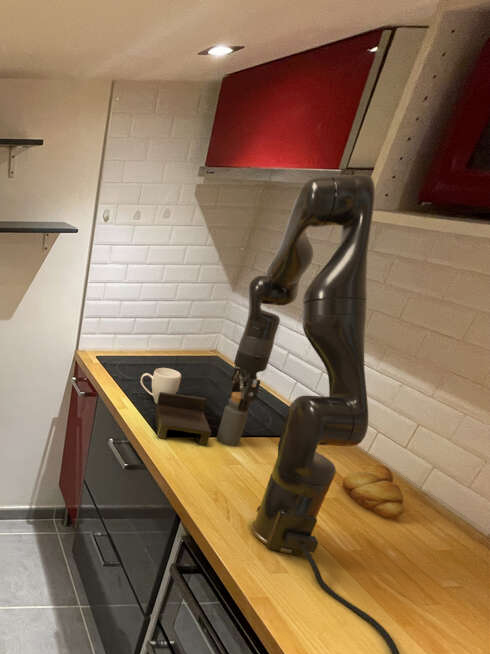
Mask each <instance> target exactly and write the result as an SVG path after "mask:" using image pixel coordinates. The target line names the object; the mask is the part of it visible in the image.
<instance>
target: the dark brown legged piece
mask: <svg viewBox="0 0 490 654" xmlns="http://www.w3.org/2000/svg"><path fill="white" fill-rule="evenodd" d="M206 401H207V399H206V397H200V396H194V395H193V396H192V395H186V394H185V395H183V394H177V393H176V394H171V393H163V392H160V393H159V397H158V402H157V404H156V409H155V415H154V419H153V421H154V425H155V430H156V434H157V439H163V440H166V438H167V433H168V430H172V431H179V432H185V433H192V434H195V437H196V440H197V443H198V445H199V446H205V447H207V446H208V442H209V438H210V436H212V430H211V428H210V424H209V423H208V420H207V418H206V416H205V413H204V409H205V405H206Z"/></svg>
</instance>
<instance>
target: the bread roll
mask: <svg viewBox="0 0 490 654" xmlns="http://www.w3.org/2000/svg"><path fill="white" fill-rule="evenodd" d="M394 481H395V480H394V475H393V473H392V471H391V470H390V468H389V467H387V466H385V465H382V464H373V465H371V466H368V467H367V468H366V469H365V470H364V471H355V472H349V473H348V474H346V476H345V477H344V478H343V479H342V488H343V489H344V491H345V492H346V493H347V494H349V495H350V496H351V497H352V499H353V500H354V501H355V502H356V503H357V504H358V505H361V506H363V507H365V508H367V509H370V510H371V511H373V512H374V513H376V514H378V515H381V516H383V517H385V518H389V519H397V518H399V517H401V516H402V515H403V513H404V511H405V508H404V506H403V505H402V504H403V503H404V501H405V499H404V494H403V492H402V489H401V488H400V487H399V486H398V484H396V483H394Z"/></svg>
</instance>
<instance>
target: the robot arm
mask: <svg viewBox="0 0 490 654" xmlns="http://www.w3.org/2000/svg"><path fill="white" fill-rule="evenodd" d="M375 196H376V188H375V182H374V180H373V178H372V176H371V175H368V174H365V173H356V174H355V173H354V174H341V175H327V176H318V177H312V178H311V179H308V180H307V181H306V182H305V183H304V184H303V185H302V186H301V188H300V190H299V191H298V193H297V196H296V197H295V200H294V202H293V206H292V209H291V212H290V214H289V218H288V220H287V223H286V226H285V229H284V232H283V235H282V239H281V241H280V245H279V247H278V249H277V251H276V254H275V255H274V257H273V258H272V260H271V262H270V264H269V265H268V267H267V269H266V275H257V276H255V277H253V278H252V279H251V281H250V282H249V284H248V287H247V295H248V296H247V297H248V314H247V319H246V322H245V323H246V324H245V327H244V330H243V333H242V336H241V338H240V340H239V343H238V347H237V351H236V354H235V358H234V360H233V364H234V369H233V372H232V375H231V381H232V382H231V384H232V387H231V389H230V390H231V392H230V394H229V396H230V397H231V394H232V393H233V392H241V399H240V402H239V405H238V411H242V412H247V410H248V409H249V407H250V405H251V402H256V398H257V395H258V393H259V388H260V386H261V380H260V379H258V376H257V375H258V374H257V373H260V372H264V371H266V370H267V367H268V364H269V361H270V358H271V354H272V351H273V348H274V344H275V338H276V336H277V335H276V334H277V333H278V329H279V326H280V322H281V318H280V316H279V315H277V314H275V313H273V312H269V311H267V310H265V309H264V310H263V309H262V305H271V306H278V307H279V306H281V307H284V306H288V305H291V304H292V303H294V302H295V301H296V299H297V297H298V294H299V286H300V285H299V284H300V281H301V278H302V277H303V275H304V274H305V273H306V271H307V269H308V268H309V267H310V265H311V263H312V262H313V258H314V249H313V246H312V245H313V244H312V243H311V241H310V240H309V238H308V236H307V232H306V231H307V230H308V229H309V228H311V227H312V228H324V227H325V228H327V227H340V229H341V231H340V236H339V241H338V244H337V247H336V249H335V252H334V253H333V255H332V256H331V257H330V259H329V260H328V262H327V263H326V265H324V267H322V269H321V270H320V271H319V272H318V274H317V275H316V276H315V277H314V278H313V280H312V281H311V282H310V284H309V285H308V287H307V289H306V290H305V293H304V295H303V299H302V300H303V301H302V330H303V333H304V335H305V337H306V339H307V341H308V342H309V344H310V345H311V347H312V349H313V350H314V352H315V353H316V354H317V356H318V357H319V359H320V360H321V363H322V364H323V366H324V368H325V371H326V373H327V378H328V389H329V390H328V396H325V395H300V396H298V397H296V398H295V399H294V400H293V401H292V402H291V404H290V405H289V407H288V409H287V413H286V415H285V418H284V422H283V426H282V430H281V433H280V436H279V440H278V444H277V457H276V460H275V463H274V465H273V469H272V471H271V474H270V477H269V480H268V482H267V484H266V488H265V491H264V494H263V497H262V499H261V501H260V504H259V506H258V507H257V509H256V513H257V514H256V517H255V519H254V521H253V523H252V526H251V531H252V533H253V534H254V536H255V537H256V538H257V539H258V540H259V541H260V542H261V543H263V544H264V545H265V546H266V549H268V550H270V551H275V552H279V553H285V554H289V555H295V556H298V557H303V555H304V556H305V558H306V560H307V562H308V563H309V565H310V568H311V570H312V572H313V575H314V577H315V580H316V581H317V583H318V585H320V587H321V588H322V589H323V591H325V593H327V594H328V595H329V596H330V597H332V598H333V599H334V600H335V601H337V602H339V603H340V604H341V605H343V606H345V607H346V608H347V609H349V610H350V611H352V612H353V613H355V614H356V615H358V616H359V617H361V618H362V619H364V620H365V621H366V622H368V623H369V624H370V625H371V626H373V628H374V629H376V631H377V632H379V634H380V635H381V636H382V637H383V639H384V641H385V642H386V644H387V646H388V648H389V649H390V653H391V654H400V652H399V649H398V646H397V644H396V642H395V641H394V639H393V637H392V636H391V635H390V634H389V632H387V630H386V629H385V628H384V627H383V626H382V625H381V624H380V623H379V622H378V621H377V620H376V619H375V618H373V617H372V616H371V615H369V614H368V613H366V612H365V611H364V610H362V609H360V608H358V607H357V606H355V605H354V604H352V603H351V602H350V601H348V600H346V599H345V598H343V597H341V596H340V595H339V594H338V593H337V592H335V591H334V590H333V589H332V588H331V587H330V586H329V585H328V584H327V583H326V581H324V578H323V577H322V574H321V572H320V568H319V567H318V564H317V563H316V561H315V560H314V559H315V558H314V557H313V555H312V554H315V552H316V550H317V547H318V546H319V541H318V539H317V537H316V536H315V535H312V534H313V532H314V529H315V527H316V524H317V522H318V519H317V518H318V516H319V513H320V510H321V509H322V506H323V503H324V501H325V498H326V497H327V494H328V492H329V489H330V487H331V485H332V483H333V481H334V479H335V476H336V473H337V468H336V465H335V464H334V462H333V461H331V460H330V459H329V458H328V457H326V456H325V455H323V454H322V453H320V452H317V448H318V446H329V447H346V448H348V447H349V448H351V447H355V446H358V445H359V444H361V443H362V442H363V440H364V439H365V437H366V436H367V432H368V427H369V405H368V404H369V403H368V402H369V401H368V394H367V393H368V392H367V381H366V373H365V372H366V371H365V370H366V369H365V340H366V339H365V338H366V337H365V333H366V321H367V304H368V303H367V301H368V297H367V296H368V295H367V292H368V291H367V289H368V287H367V272H368V269H367V268H368V254H369V243H370V236H371V229H372V222H373V217H374V207H375V198H376V197H375ZM249 404H250V405H249ZM248 411H249V410H248ZM311 553H312V554H311Z"/></svg>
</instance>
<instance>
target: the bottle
mask: <svg viewBox="0 0 490 654" xmlns="http://www.w3.org/2000/svg"><path fill="white" fill-rule="evenodd" d="M230 394H231V393H230ZM240 399H241V392H233V393H232V394H231V396H230V397H229V398H228V404H227V405H225V407H224V410H223V413H222V417H221V420H220V424H219V428H218V431H217V433H216V440H217V441H218V442H219V443H221V444H222V445H224V446H228V447H238V446H239V444H240V443H241V439H242V437H243V434H244V430H245V427H246V423H247V420H248V417H249V410H247V412H242V411H238V405H239V402H240ZM250 405H251V403H250V404H249V406H250Z"/></svg>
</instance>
